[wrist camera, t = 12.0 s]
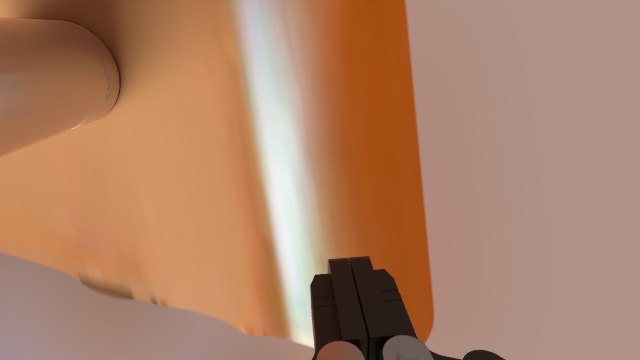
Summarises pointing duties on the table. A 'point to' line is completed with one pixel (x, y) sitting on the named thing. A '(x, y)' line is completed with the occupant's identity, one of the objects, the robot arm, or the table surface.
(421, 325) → the table surface
